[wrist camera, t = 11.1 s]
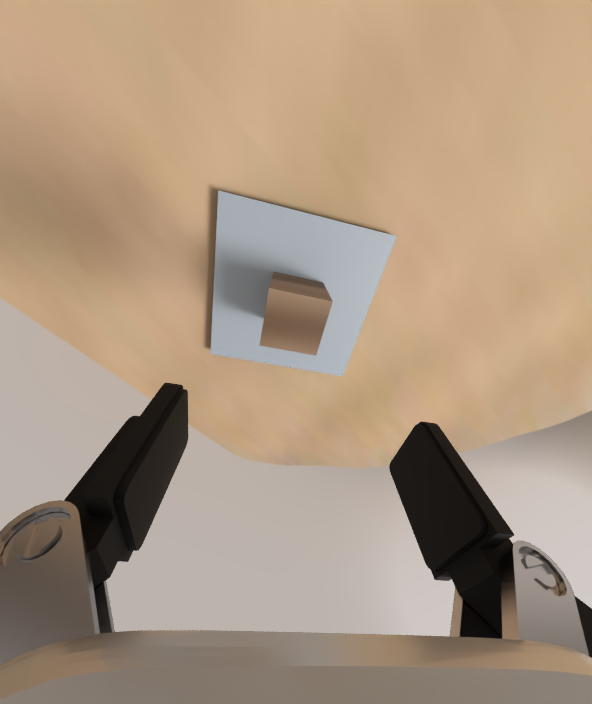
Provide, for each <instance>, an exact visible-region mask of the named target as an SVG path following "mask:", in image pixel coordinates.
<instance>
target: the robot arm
mask: <svg viewBox="0 0 592 704" xmlns="http://www.w3.org/2000/svg"><path fill="white" fill-rule="evenodd" d="M187 441H188V392H187V390H185V389H183V386H182V385H178V384H171V383H164V385H163V386H162V387H161V388H160V390H159V391H158V392H157V394H156V395H155V397H154V398H153V399H152V401H151V402H150V403H149V405H148V406H147V408H146V409H145V410H144V412H143V413H142V414H141V416H132V417H130V418H129V419H128V420H127V421H126V422H125V424H124V425H123V426H122V427H121V429H120V430H119V431H118V433H117V434H116V435H115V436H114V438H113V439H112V440H111V442H110V443H109V444H108V445H107V447H106V448H105V449H104V451H103V452H102V453H101V454H100V456H99V457H98V458H97V459H96V461H95V462H94V463H93V464H92V466H91V467H90V468H89V469H88V471H87V472H86V473H85V475H84V476H83V477H82V478H81V480H80V481H79V482H78V483H77V485H76V486H75V487H74V489H73V490H72V491H71V492H70V494H69V495H68V496H67V497H66V499H65V500H64V501H60V500H59V501H51V502H47V503H43V504H40V505H37V506H35V507H33V508H31V509H29V510H27V511H25V512H23V513H22V514H20V515H19V516H17V517H16V518H15V519H13V520H12V521H11V522H9V523H8V524H7V525H6V526H5V527H4V528H3V529H2V530H1V531H0V704H592V609H591V608H590V607H588V606H587V605H586V604H585V603H583V602H582V601H580V600H579V599H578V598H577V597H575V596H574V593H573V590H572V587H571V585H570V583H569V581H568V579H567V578H566V576H565V574H564V573H563V572H562V571H561V569H560V568H559V567H558V566H557V564H556V563H555V562H554V561H553V560H552V559H551V558H550V557H549V556H548V555H547V554H545V553H544V552H543V551H541V550H540V549H539V548H537V547H536V546H534V545H532V544H531V543H528V542H525V541H516V542H514V543H513V544H512V542H511V541H510V539H509V538H510V537H512V536H513V535H514V534H513V532H512V531H511V529H510V528H509V526H508V525H507V523H506V522H505V521H504V519H503V518H502V516H501V515H500V514H499V512H498V511H497V509H496V508H495V506H494V505H493V503H492V502H491V500H490V499H489V498H488V496H487V495H486V493H485V492H484V491H483V489H482V488H481V486H480V485H479V483H478V482H477V481H476V479H475V478H474V476H473V475H472V473H471V472H470V470H469V469H468V468H467V466H466V465H465V463H464V462H463V460H462V459H461V457H460V456H459V455H458V453H457V452H456V450H455V449H454V447H453V446H452V444H451V443H450V442H449V440H448V439H447V437H446V436H445V434H444V433H443V432H442V430H441V429H440V427H439V426H438V425H437V424H435V423H428V422H420V423H419V424H417V425H415V427H414V428H413V430H412V431H411V433H410V434H409V436H408V437H407V439H406V440H405V442H404V443H403V445H402V446H401V448H400V449H399V451H398V452H397V454H396V455H395V457H394V458H393V460H392V461H391V463H390V472H391V475H392V478H393V480H394V483H395V485H396V488H397V490H398V493H399V495H400V498H401V501H402V504H403V506H404V509H405V511H406V514H407V516H408V519H409V522H410V524H411V527H412V529H413V532H414V535H415V537H416V540H417V542H418V545H419V548H420V550H421V553H422V555H423V558H424V560H425V563H426V565H427V566H428V568H430V569H431V571H432V574H433V576H434V579H435V580H445V581H448V580H451V579H452V580H453V582H454V585H455V595H454V603H453V612H452V620H451V629H450V637H444V636H413V635H379V634H341V633H301V632H254V631H126V632H115V630H114V624H113V618H112V613H111V607H110V601H109V595H108V590H107V584H106V580H107V579H108V578H109V577H110V576H111V574H112V572H113V570H114V568H115V566H116V564H117V562H118V561H125V562H126V561H127V562H128V561H129V558H130V556H131V554H132V552H133V550H136V551H137V550H139V549H140V547H141V546H142V544H143V541H144V539H145V537H146V535H147V533H148V530H149V528H150V526H151V524H152V522H153V519H154V517H155V514H156V513H157V510H158V508H159V506H160V504H161V501H162V499H163V497H164V495H165V492H166V490H167V488H168V486H169V483H170V481H171V479H172V477H173V474H174V472H175V470H176V468H177V466H178V463H179V461H180V459H181V457H182V454H183V452H184V450H185V448H186V445H187Z"/></svg>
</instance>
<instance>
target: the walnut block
mask: <svg viewBox="0 0 592 704" xmlns="http://www.w3.org/2000/svg"><path fill="white" fill-rule="evenodd" d="M332 303H333V301H332V299H331V297H330V295H329V293H328V291H327V289H326V287H325V285H324V283H323V282H318V281H314V280H309V279H305V278H300V277H296V276H292V275H287V274H283V273H278V272H274V271H273V275H272V279H271V282H270V286H269V291H268V297H267V303H266V309H265V315H264V321H263V327H262V333H261V339H260V345H259V346H265V347H270V348H276V349H281V350H287V351H292V352H298V353H304V354H309V355H315V356H316V355H317V351H318V348H319V345H320V342H321V338H322V335H323V332H324V329H325V325H326V322H327V319H328V316H329V312H330V309H331V306H332Z"/></svg>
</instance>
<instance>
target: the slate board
mask: <svg viewBox="0 0 592 704" xmlns="http://www.w3.org/2000/svg"><path fill="white" fill-rule="evenodd" d="M396 237H397V236H394V235H390V234H386V233H382V232H379V231H375V230H371V229H367V228H363V227H359V226H355V225H351V224H347V223H344V222H340V221H336V220H332V219H328V218H324V217H320V216H316V215H312V214H308V213H305V212H301V211H297V210H293V209H289V208H285V207H281V206H277V205H273V204H270V203H266V202H262V201H258V200H254V199H250V198H246V197H242V196H238V195H235V194H231V193H227V192H223V191H219V190H218V207H217V228H216V249H215V269H214V290H213V311H212V332H211V352H210V354H214V355H220V356H226V357H232V358H237V359H243V360H249V361H255V362H261V363H267V364H273V365H279V366H285V367H291V368H297V369H303V370H309V371H315V372H320V373H326V374H332V375H338V376H343V374H344V371H345V368H346V366H347V363H348V361H349V358H350V356H351V353H352V350H353V348H354V345H355V343H356V340H357V337H358V335H359V332H360V330H361V327H362V325H363V322H364V319H365V317H366V314H367V312H368V309H369V306H370V304H371V301H372V299H373V296H374V294H375V291H376V288H377V286H378V283H379V281H380V278H381V275H382V273H383V270H384V268H385V265H386V263H387V260H388V257H389V255H390V252H391V250H392V247H393V244H394V242H395V239H396ZM273 271H274V272H278V273H283V274H287V275H292V276H296V277H300V278H305V279H309V280H314V281H318V282H323V283H324V285H325V287H326V289H327V291H328V293H329V295H330V297H331V299H332V301H333V303H332V306H331V309H330V312H329V316H328V319H327V322H326V325H325V329H324V332H323V335H322V338H321V342H320V345H319V348H318V351H317V355H316V356H315V355H309V354H304V353H298V352H292V351H287V350H281V349H276V348H270V347H265V346H259V345H260V339H261V333H262V327H263V321H264V315H265V309H266V303H267V297H268V291H269V286H270V282H271V279H272V275H273Z"/></svg>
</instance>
